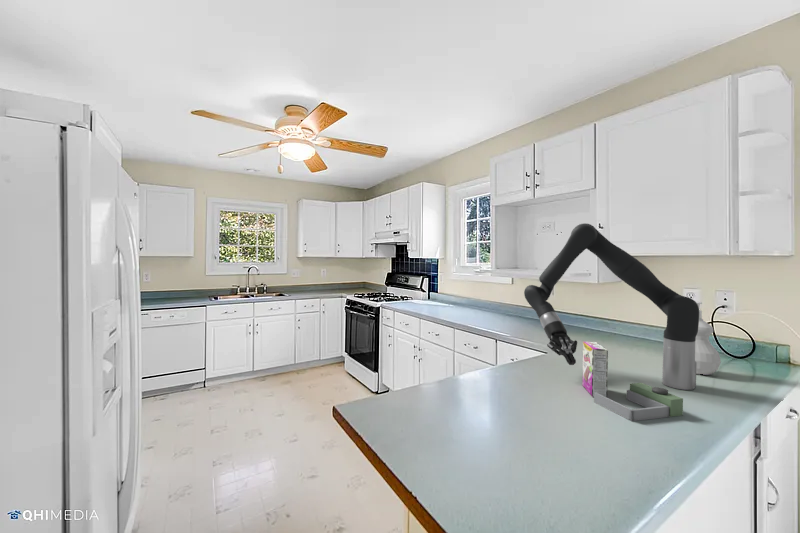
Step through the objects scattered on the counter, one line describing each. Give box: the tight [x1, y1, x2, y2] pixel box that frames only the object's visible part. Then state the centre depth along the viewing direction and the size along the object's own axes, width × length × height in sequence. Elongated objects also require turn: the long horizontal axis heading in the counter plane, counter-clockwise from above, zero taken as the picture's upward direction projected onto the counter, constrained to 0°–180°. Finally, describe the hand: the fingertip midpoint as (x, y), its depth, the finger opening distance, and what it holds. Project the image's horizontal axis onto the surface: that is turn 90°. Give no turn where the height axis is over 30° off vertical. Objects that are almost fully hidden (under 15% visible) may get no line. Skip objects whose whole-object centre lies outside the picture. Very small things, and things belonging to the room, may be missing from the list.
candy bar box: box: [581, 341, 609, 398], centre depth 122 cm, size 11×5×16 cm, turn 168°
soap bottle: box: [694, 300, 722, 376], centre depth 147 cm, size 17×12×29 cm
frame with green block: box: [593, 382, 684, 422], centre depth 109 cm, size 19×14×6 cm
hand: (573, 364), depth 132 cm, fingers closed
